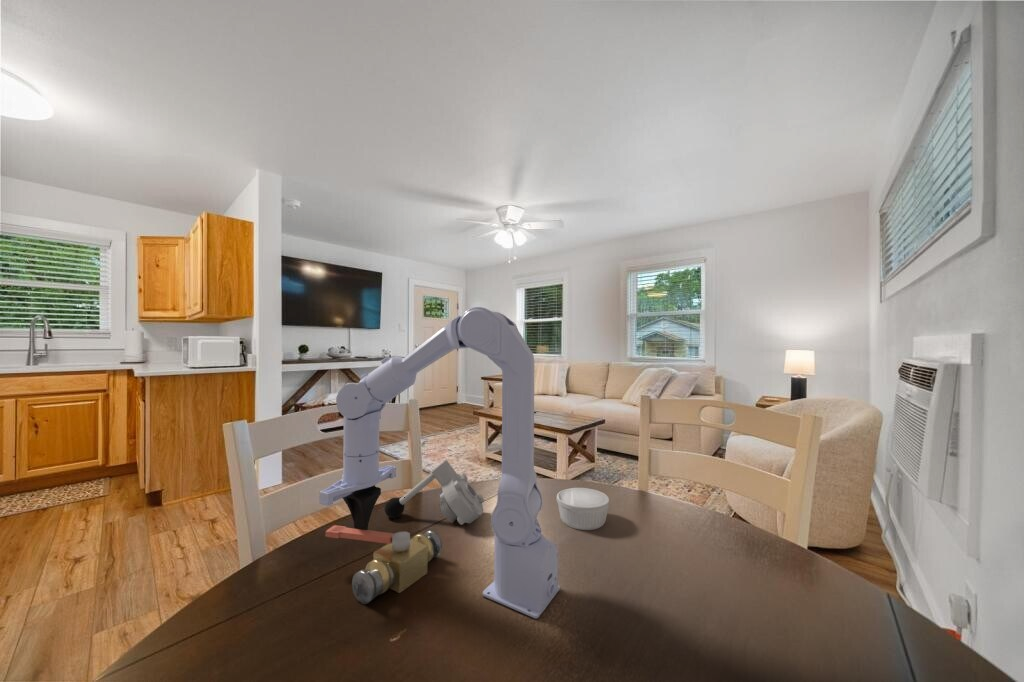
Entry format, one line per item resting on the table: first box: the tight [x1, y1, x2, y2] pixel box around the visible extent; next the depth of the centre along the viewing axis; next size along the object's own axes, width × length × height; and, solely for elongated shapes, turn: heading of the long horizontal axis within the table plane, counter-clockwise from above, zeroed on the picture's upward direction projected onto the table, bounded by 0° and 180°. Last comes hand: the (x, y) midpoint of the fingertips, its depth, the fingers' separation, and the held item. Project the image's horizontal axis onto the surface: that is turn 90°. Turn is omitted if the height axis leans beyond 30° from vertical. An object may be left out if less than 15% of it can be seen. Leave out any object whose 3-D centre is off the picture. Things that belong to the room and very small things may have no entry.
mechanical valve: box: [384, 459, 485, 526], centre depth 83 cm, size 10×18×15 cm
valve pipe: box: [351, 529, 443, 605], centre depth 62 cm, size 15×6×5 cm, turn 149°
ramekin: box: [556, 487, 610, 531], centre depth 83 cm, size 11×11×5 cm
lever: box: [324, 524, 411, 551], centre depth 63 cm, size 15×3×2 cm, turn 78°
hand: (360, 531), depth 65 cm, fingers closed, pressing on lever
